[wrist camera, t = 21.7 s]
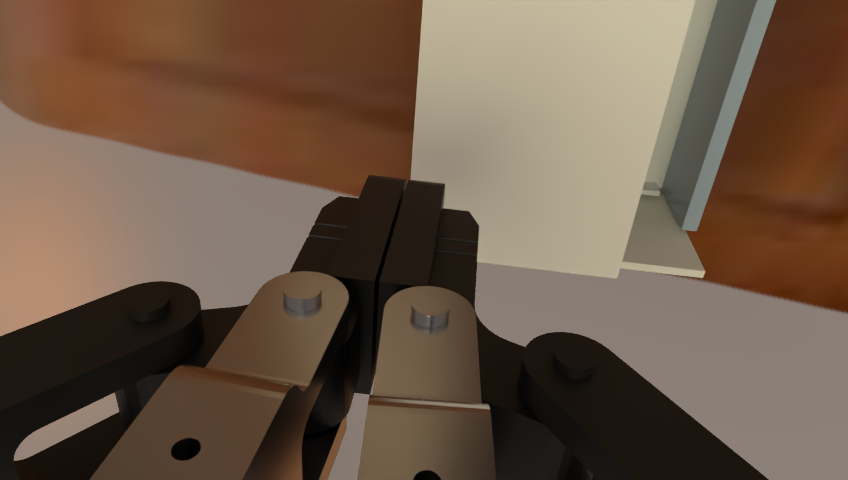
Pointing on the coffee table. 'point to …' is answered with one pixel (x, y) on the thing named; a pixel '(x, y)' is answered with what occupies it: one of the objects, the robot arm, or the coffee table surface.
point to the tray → (705, 102)
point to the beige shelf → (553, 129)
